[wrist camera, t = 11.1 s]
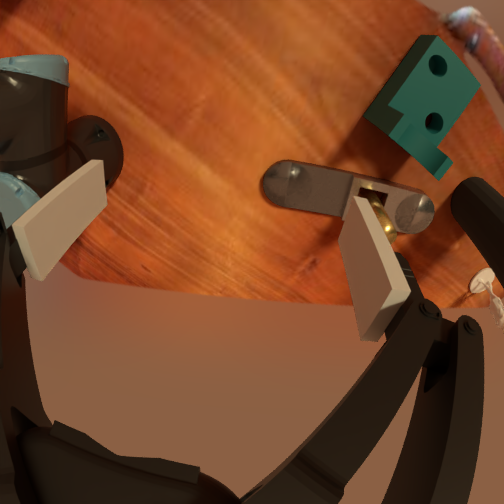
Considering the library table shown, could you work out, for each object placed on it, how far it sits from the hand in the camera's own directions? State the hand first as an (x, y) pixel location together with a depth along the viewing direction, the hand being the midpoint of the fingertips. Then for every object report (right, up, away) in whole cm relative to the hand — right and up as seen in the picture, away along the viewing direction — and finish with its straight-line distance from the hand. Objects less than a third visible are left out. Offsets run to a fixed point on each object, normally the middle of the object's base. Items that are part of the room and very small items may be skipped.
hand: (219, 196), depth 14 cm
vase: (+44, +7, +30) cm, 53 cm away
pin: (+21, +7, +33) cm, 40 cm away
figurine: (+57, -9, +40) cm, 71 cm away
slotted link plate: (+19, +7, +33) cm, 39 cm away
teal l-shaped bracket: (+28, +22, +21) cm, 41 cm away
